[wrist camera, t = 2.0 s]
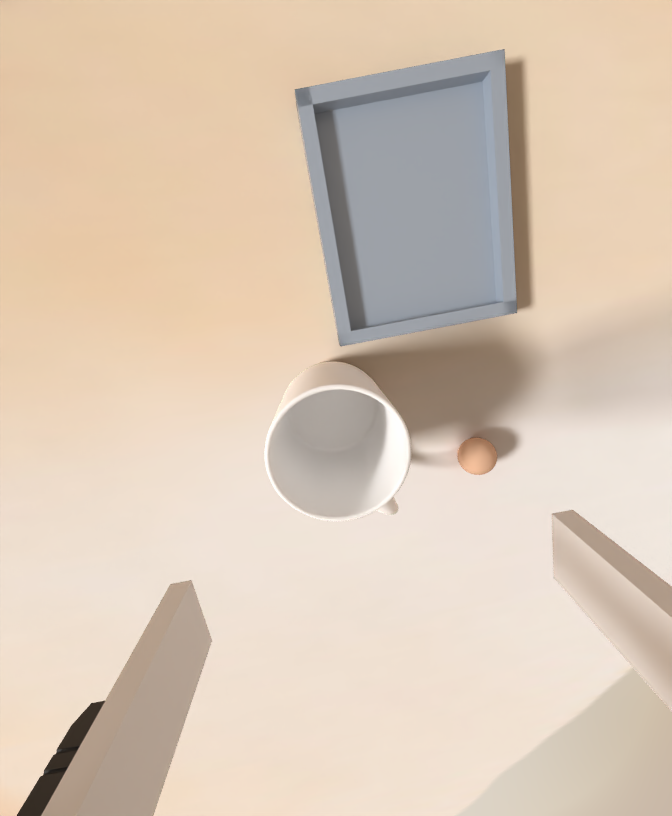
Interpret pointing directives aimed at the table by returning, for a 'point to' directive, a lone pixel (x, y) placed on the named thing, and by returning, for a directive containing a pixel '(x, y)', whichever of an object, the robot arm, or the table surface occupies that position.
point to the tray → (413, 195)
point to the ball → (477, 456)
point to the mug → (337, 445)
